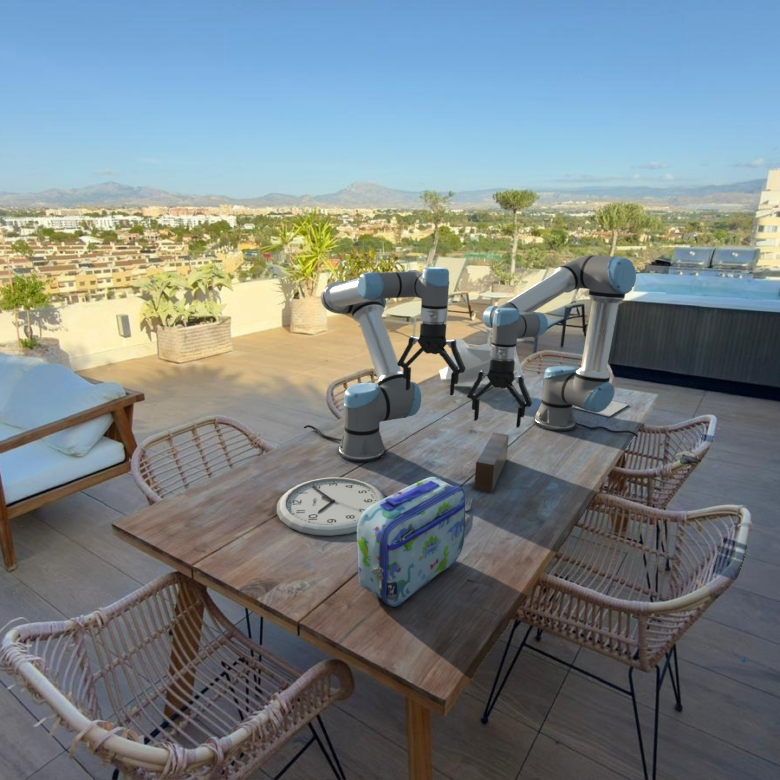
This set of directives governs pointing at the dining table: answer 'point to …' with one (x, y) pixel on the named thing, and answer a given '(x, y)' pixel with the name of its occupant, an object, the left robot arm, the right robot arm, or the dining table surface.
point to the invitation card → (609, 408)
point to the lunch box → (410, 539)
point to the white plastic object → (473, 363)
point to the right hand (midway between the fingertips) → (496, 422)
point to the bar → (491, 462)
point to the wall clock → (327, 505)
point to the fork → (467, 507)
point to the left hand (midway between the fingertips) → (429, 391)
